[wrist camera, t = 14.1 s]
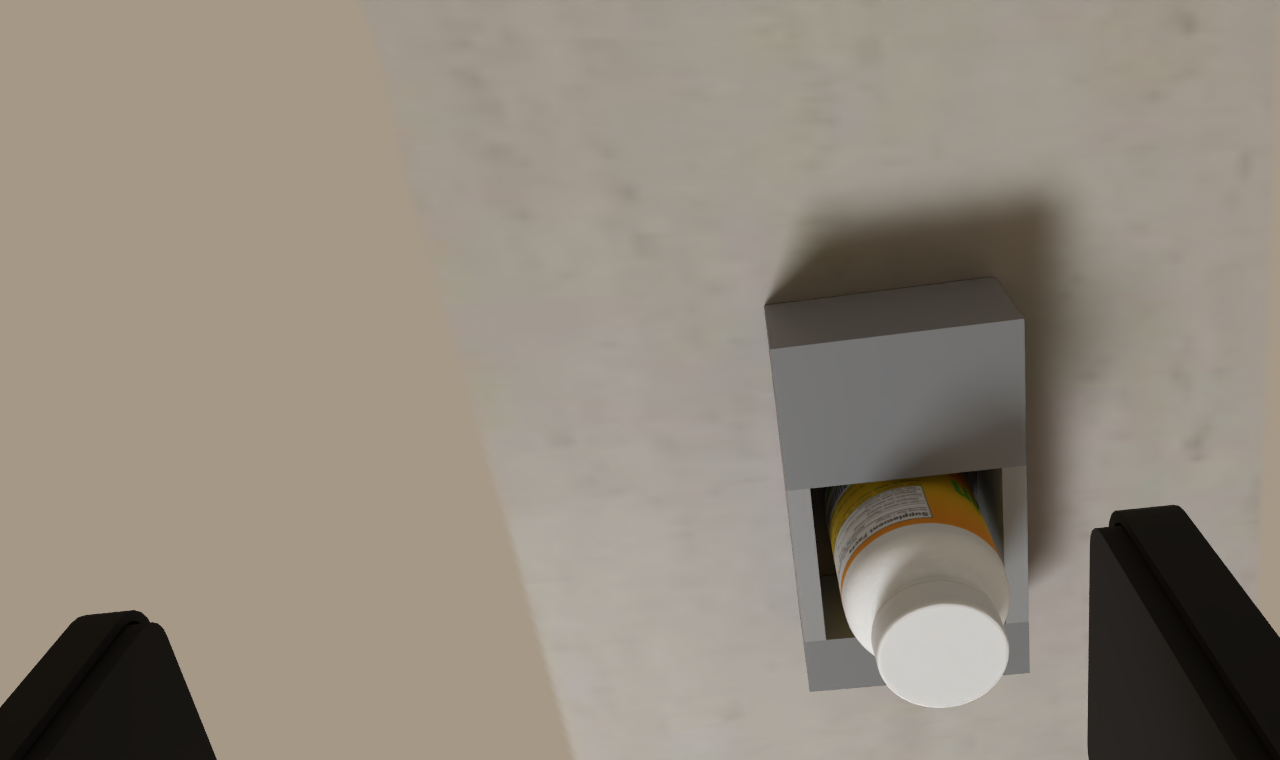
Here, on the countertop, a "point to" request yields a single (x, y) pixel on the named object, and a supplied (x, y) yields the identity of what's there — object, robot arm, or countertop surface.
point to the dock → (900, 431)
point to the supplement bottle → (922, 585)
